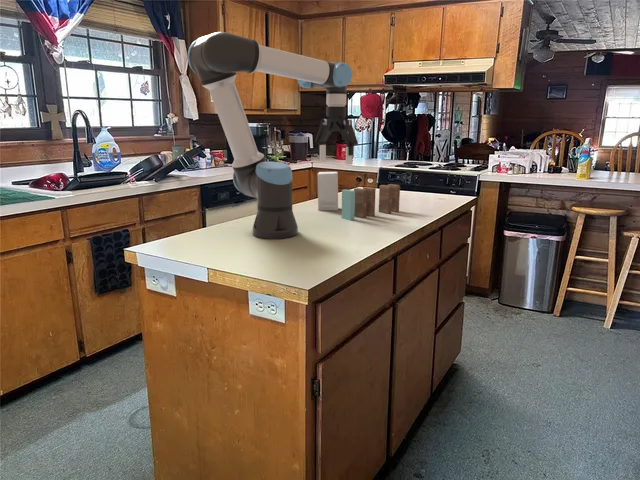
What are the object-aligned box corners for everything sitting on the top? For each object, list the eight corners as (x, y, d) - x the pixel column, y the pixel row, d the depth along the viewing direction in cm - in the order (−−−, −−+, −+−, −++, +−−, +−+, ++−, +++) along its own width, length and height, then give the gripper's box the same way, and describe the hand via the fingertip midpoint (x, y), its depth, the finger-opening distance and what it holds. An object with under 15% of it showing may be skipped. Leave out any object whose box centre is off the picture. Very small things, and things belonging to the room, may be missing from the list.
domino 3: (387, 213, 193) (388, 186, 190) (378, 211, 196) (379, 185, 194) (391, 213, 194) (392, 186, 191) (382, 211, 198) (383, 184, 195)
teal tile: (350, 220, 181) (350, 191, 178) (341, 218, 185) (342, 189, 182) (354, 219, 182) (355, 191, 179) (345, 217, 186) (346, 189, 183)
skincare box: (338, 208, 204) (338, 171, 200) (337, 211, 198) (337, 173, 194) (318, 207, 205) (318, 171, 201) (317, 210, 199) (317, 173, 195)
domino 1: (361, 218, 185) (362, 190, 182) (353, 216, 188) (353, 188, 186) (365, 217, 186) (366, 189, 183) (357, 215, 190) (358, 187, 187)
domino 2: (370, 216, 187) (371, 188, 184) (362, 214, 191) (362, 187, 188) (374, 216, 189) (375, 188, 186) (366, 214, 192) (366, 186, 190)
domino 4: (395, 212, 195) (396, 185, 193) (386, 210, 199) (387, 184, 196) (398, 211, 197) (400, 185, 194) (390, 209, 201) (391, 183, 198)
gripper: (368, 106, 174) (366, 164, 179) (319, 106, 191) (318, 160, 196) (355, 105, 169) (353, 166, 174) (306, 106, 185) (305, 161, 191)
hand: (335, 163), depth 185 cm, fingers open, 13 cm apart
